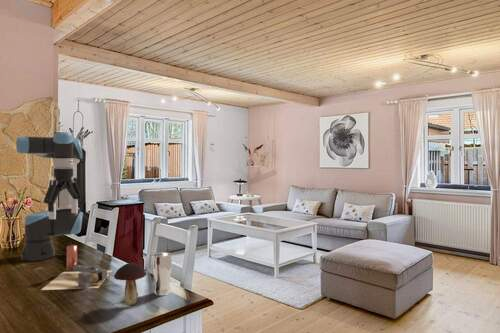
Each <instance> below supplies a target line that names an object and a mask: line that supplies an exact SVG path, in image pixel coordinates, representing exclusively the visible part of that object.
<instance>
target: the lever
mask: <svg viewBox="0 0 500 333" xmlns="http://www.w3.org/2000/svg"><path fill="white" fill-rule="evenodd" d="M66 271H68V272H71V271H73V272H88V273H96V274H97V275H98V276H99V279H100V280H103V279H105V280H106V279H108V277H107V271H108V269H107V268H100V267H99V266H86V265H81V264H78V245H77V244H70V245H67V246H66Z"/></svg>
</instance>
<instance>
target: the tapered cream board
mask: <svg viewBox="0 0 500 333" xmlns="http://www.w3.org/2000/svg"><path fill="white" fill-rule="evenodd" d="M112 272H113V269H112V270H108V269H107V278H108V277H109V276H110V275H111V273H112ZM105 280H106V279H103V280H100V279H98V281H97V282H96V283H92V273H88V272H79V271H63V272H61V273H59V274H58V276H56V277H55V278H54V279H52V280H51V281H49V283H47V284H46V285H45V286H44V287H42V288H41V289H40V291H51V290H52V291H55V290H56V291H57V290H58V291H59V290H79V289H99V288H100V286H101V285H102V284H103V283H104V282H105Z"/></svg>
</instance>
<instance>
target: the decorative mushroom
mask: <svg viewBox="0 0 500 333" xmlns="http://www.w3.org/2000/svg"><path fill="white" fill-rule="evenodd" d="M147 275H148V273H147V271H146V270H145V268H143V267H142V266H141V265H140V264H138V263H135V262H127V263H126V264H123V265H122V266H121V267H119V268H118V269H117V270H116V271H115V273H114V275H113V278H114V279H115V280H118V281H125V286H124V296H123V298H124V303H125V305H127V306H133V305H135V304H136V303H137V300H138V288H137V287H138V286H137V282H136V280H139V279H142V278H144V277H146V276H147Z"/></svg>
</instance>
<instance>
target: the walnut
mask: <svg viewBox="0 0 500 333" xmlns="http://www.w3.org/2000/svg"><path fill="white" fill-rule="evenodd" d="M98 279H99V276H98V275H97V274H96V273H92V283H96V282H97V281H98Z"/></svg>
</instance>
